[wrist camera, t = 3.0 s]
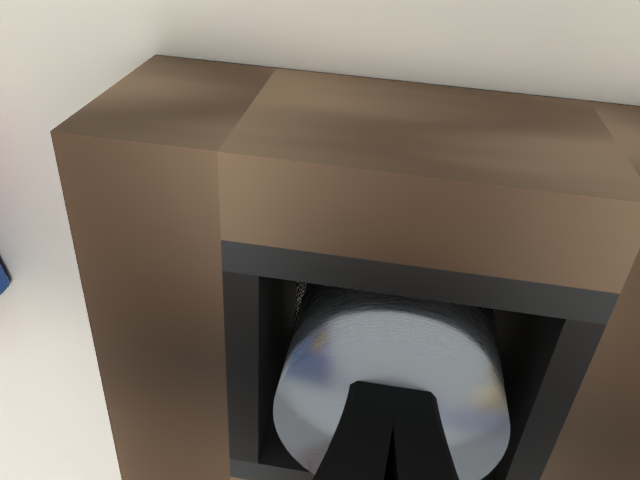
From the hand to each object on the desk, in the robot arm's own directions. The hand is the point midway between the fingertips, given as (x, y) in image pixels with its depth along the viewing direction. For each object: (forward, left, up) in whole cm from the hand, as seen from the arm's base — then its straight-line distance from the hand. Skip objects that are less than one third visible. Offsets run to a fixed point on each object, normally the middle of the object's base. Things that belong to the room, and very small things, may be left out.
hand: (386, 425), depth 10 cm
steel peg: (0, 0, -4) cm, 4 cm away
